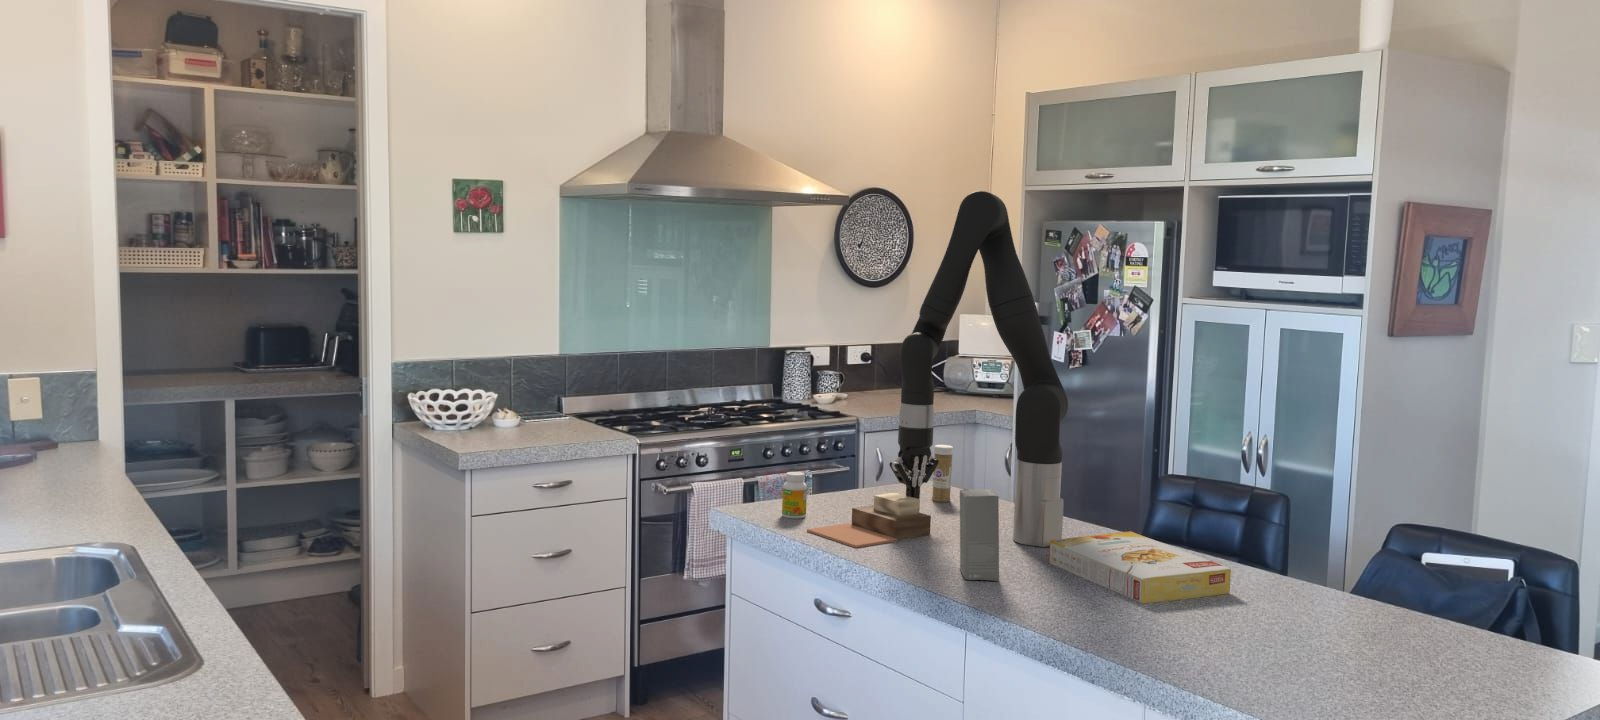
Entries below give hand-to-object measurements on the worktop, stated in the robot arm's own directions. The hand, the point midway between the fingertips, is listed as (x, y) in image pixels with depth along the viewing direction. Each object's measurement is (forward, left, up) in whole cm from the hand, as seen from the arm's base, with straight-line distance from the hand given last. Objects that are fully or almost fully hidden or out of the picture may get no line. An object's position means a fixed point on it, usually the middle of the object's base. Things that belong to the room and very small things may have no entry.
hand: (912, 502), depth 257 cm
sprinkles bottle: (+17, -26, -6) cm, 31 cm away
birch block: (0, +5, 0) cm, 5 cm away
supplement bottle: (+21, +16, -6) cm, 27 cm away
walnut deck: (0, +6, -5) cm, 8 cm away
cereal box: (-52, -9, -6) cm, 53 cm away
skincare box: (-35, +16, -6) cm, 39 cm away
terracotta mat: (0, +17, -5) cm, 18 cm away
